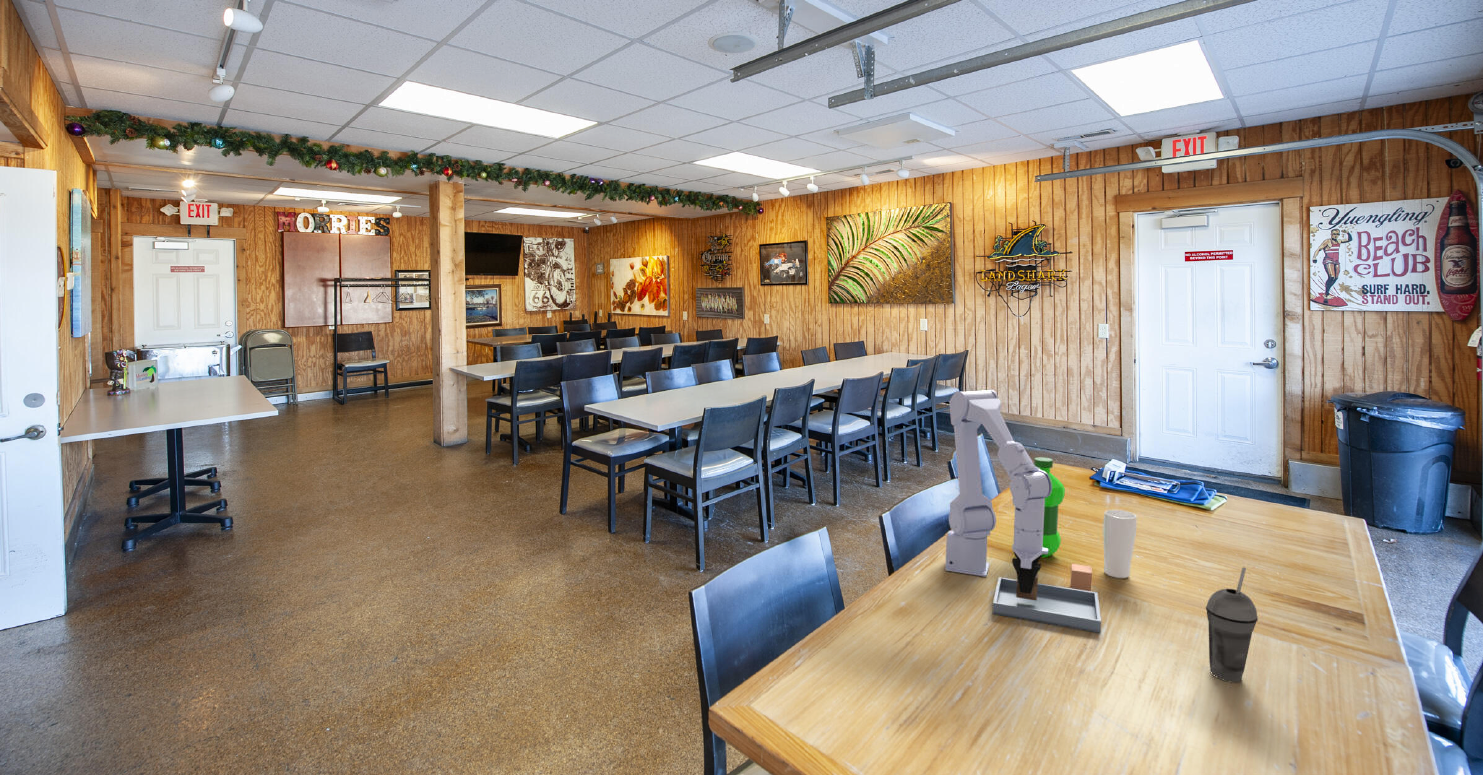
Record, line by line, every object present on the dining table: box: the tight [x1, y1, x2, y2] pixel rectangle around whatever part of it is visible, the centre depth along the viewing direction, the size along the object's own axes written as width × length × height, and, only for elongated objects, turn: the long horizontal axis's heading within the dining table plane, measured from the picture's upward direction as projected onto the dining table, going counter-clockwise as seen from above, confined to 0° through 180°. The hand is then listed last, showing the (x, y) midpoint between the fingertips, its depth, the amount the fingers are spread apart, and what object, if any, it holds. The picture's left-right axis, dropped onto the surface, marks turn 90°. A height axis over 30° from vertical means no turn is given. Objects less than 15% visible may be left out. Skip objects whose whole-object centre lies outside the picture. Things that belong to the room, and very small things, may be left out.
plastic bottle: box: [1033, 456, 1066, 558], centre depth 170 cm, size 10×10×25 cm
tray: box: [992, 576, 1102, 634], centre depth 141 cm, size 20×14×2 cm
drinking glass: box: [1102, 509, 1138, 579], centre depth 157 cm, size 7×7×15 cm
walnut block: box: [1016, 572, 1039, 601], centre depth 142 cm, size 4×4×5 cm
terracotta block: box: [1070, 563, 1093, 592], centre depth 150 cm, size 4×4×5 cm
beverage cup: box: [1205, 567, 1259, 683], centre depth 115 cm, size 7×7×20 cm
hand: (1025, 588), depth 143 cm, fingers closed on walnut block, 4 cm apart
